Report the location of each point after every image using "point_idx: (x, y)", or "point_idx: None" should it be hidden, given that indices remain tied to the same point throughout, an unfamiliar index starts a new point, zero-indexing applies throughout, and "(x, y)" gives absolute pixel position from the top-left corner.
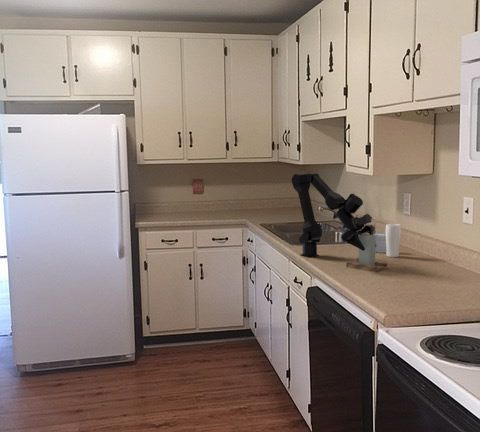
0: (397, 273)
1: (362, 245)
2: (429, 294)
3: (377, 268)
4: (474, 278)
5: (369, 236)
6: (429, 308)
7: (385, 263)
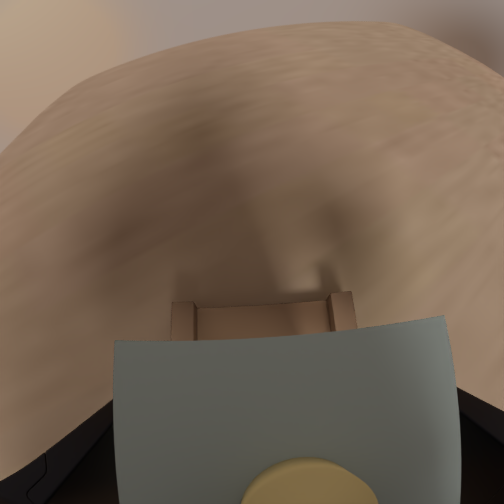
0: (270, 200)
1: (461, 394)
2: (409, 63)
3: (295, 317)
4: (156, 53)
5: (420, 342)
6: (466, 59)
7: (185, 311)
